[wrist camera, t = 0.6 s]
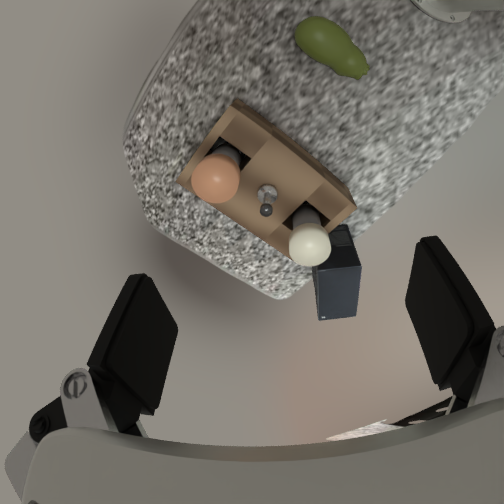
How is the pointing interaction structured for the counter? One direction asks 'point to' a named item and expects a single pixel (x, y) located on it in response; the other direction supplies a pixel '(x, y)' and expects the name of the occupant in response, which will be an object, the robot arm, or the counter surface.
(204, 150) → the wooden condiment caddy
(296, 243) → the knob cream
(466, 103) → the counter surface
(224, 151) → the knob terracotta
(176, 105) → the counter surface
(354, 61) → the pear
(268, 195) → the pot stem
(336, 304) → the small box
